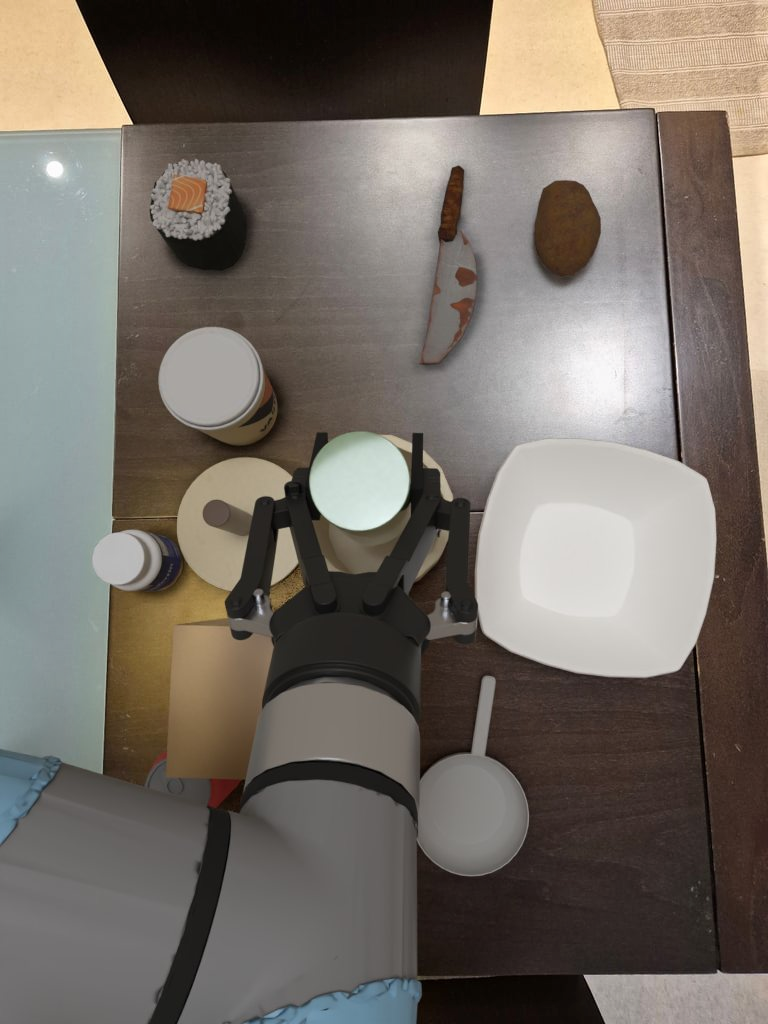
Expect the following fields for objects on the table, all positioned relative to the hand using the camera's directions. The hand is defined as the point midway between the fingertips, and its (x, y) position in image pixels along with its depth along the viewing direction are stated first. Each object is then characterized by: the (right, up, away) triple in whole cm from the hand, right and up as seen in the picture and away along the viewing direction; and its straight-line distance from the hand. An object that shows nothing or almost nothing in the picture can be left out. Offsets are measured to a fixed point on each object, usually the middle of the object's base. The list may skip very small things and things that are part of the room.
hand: (370, 449), depth 52 cm
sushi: (-17, +25, +26) cm, 40 cm away
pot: (+1, -6, +22) cm, 22 cm away
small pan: (+10, -29, +19) cm, 36 cm away
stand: (-7, -20, +20) cm, 29 cm away
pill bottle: (-22, -10, +23) cm, 33 cm away
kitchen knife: (+8, +21, +24) cm, 33 cm away
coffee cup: (-14, +6, +24) cm, 28 cm away
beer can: (-15, -29, +20) cm, 38 cm away
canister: (0, -4, +3) cm, 5 cm away
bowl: (+20, -9, +21) cm, 30 cm away
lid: (-13, -6, +22) cm, 26 cm away
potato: (+19, +24, +24) cm, 39 cm away
